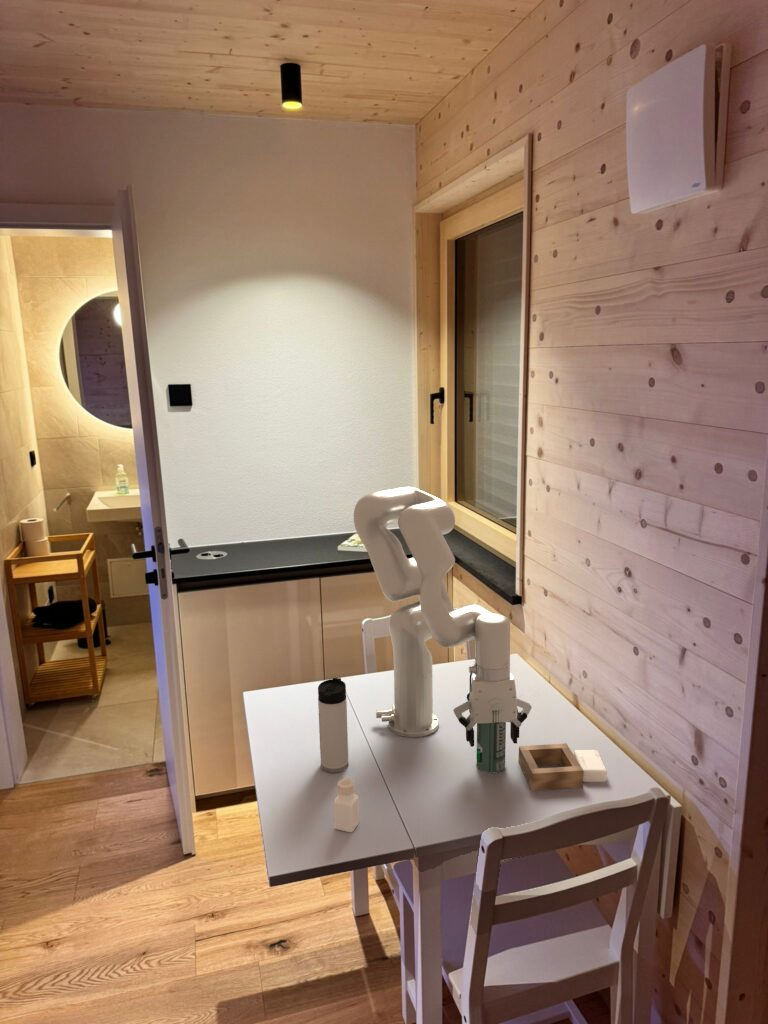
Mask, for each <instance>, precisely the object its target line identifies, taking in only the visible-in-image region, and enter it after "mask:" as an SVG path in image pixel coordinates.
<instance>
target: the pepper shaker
mask: <svg viewBox="0 0 768 1024" xmlns="http://www.w3.org/2000/svg"><path fill="white" fill-rule="evenodd" d="M337 793H338V794H337V796H336V797H335V799H334V801H333V811H334V816H333V817H334V828H335V829H336V830H338V831H342V832H347V833H353V832H354V830H355V829H356V828H357V826H358V824H359V823H360V806H359V805H360V803H359V802H360V801H359V799H360V798H359V795H358V794H356V793H355V782H354V780H353V779H351V778H342V779H340V780H338V782H337Z"/></svg>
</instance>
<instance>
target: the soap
mask: <svg viewBox="0 0 768 1024" xmlns="http://www.w3.org/2000/svg"><path fill="white" fill-rule="evenodd" d="M573 754H574V756H575V758H576V759H577V761H578V762H579V764H580V766H581V767H582V769H583V770H584V771H583V783H588V782H589V783H606V781H607V778H608V776H607V774H608V771H607V769H606V767H605V764H604V762H603V760H602V758H601V755H600V753H599V751H598V750H597V749H574V751H573Z"/></svg>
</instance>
